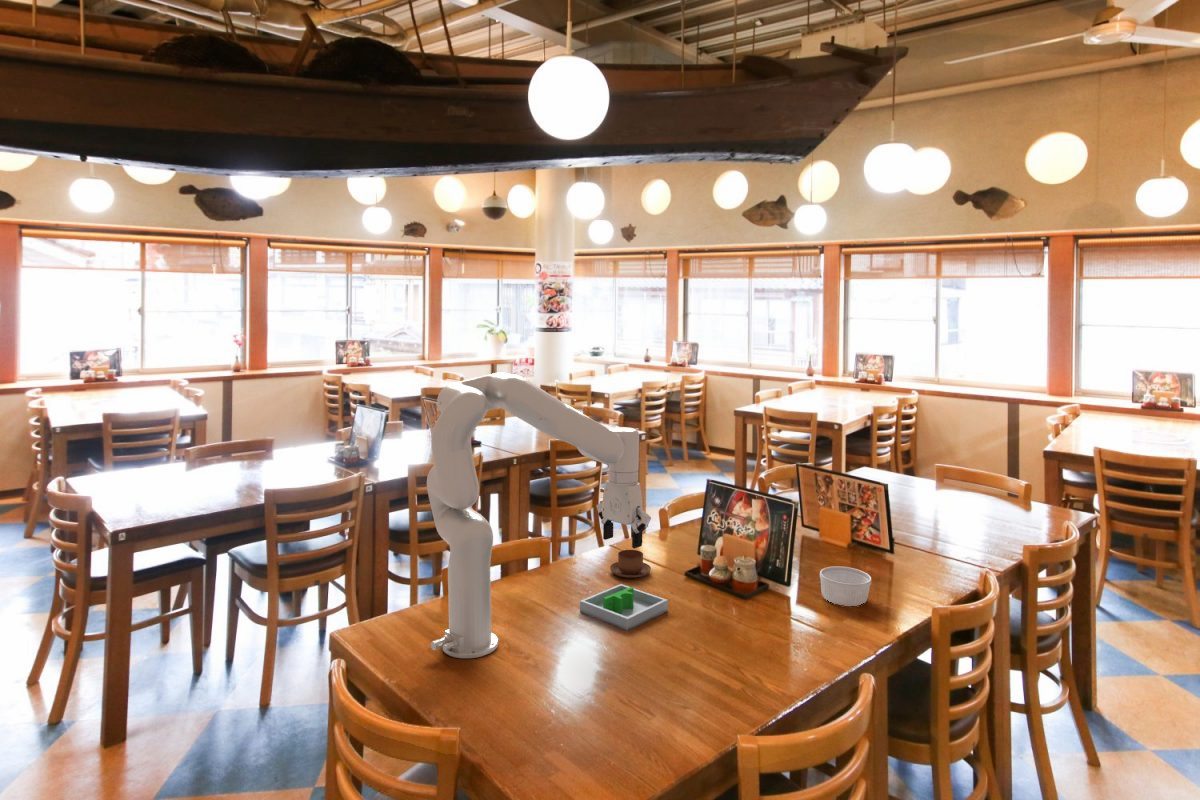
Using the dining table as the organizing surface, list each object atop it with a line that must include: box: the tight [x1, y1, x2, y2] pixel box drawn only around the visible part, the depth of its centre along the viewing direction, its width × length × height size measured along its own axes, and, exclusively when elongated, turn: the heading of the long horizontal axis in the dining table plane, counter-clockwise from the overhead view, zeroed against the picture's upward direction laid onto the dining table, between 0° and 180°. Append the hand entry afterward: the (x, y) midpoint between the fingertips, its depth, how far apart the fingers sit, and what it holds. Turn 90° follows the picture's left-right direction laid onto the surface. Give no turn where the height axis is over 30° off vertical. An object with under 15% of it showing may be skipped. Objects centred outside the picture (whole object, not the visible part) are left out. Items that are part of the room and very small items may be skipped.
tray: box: [579, 583, 669, 632], centre depth 185 cm, size 16×16×3 cm
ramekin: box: [819, 565, 872, 607], centre depth 194 cm, size 13×13×7 cm
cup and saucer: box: [609, 549, 652, 579], centre depth 212 cm, size 12×12×6 cm
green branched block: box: [603, 586, 635, 614], centre depth 185 cm, size 10×4×4 cm, turn 136°
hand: (622, 542), depth 183 cm, fingers open, 9 cm apart
